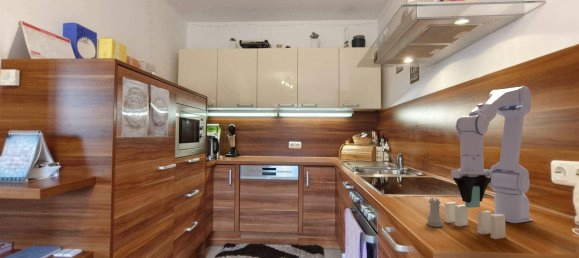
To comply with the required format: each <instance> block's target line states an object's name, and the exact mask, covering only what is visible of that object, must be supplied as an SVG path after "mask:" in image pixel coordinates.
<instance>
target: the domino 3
mask: <svg viewBox="0 0 579 258" xmlns="http://www.w3.org/2000/svg"><path fill="white" fill-rule="evenodd" d="M464 205H465V207H468V209H473V208H481V202H480V187H478V186H473V190H472V200H471V203H468V202H465V204H464Z"/></svg>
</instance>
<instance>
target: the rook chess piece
mask: <svg viewBox="0 0 579 258" xmlns="http://www.w3.org/2000/svg"><path fill="white" fill-rule="evenodd" d="M428 203H429V214H428V217H427V218H426V220H427V221H426V224H427V225H428V226H430V227H434V228H442V227H443V226H444V223H443V219H442V217H441V214H440V208H441V207H440V204H441V201H440V199H439V198H437V197H436V198H434V197H430V198H429V200H428Z"/></svg>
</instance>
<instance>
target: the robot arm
mask: <svg viewBox="0 0 579 258" xmlns="http://www.w3.org/2000/svg"><path fill="white" fill-rule="evenodd" d="M488 97H489V99H488V100H487V101H486V102H485V103H483V102H481V103H478V104H477V105H476V107H475V108H474V109H473V110H471V111H470V112H469V113H468V114H467V115H462V116H460V117H459V118H458V119H457V120H456V123H455V130H456V133H457V139H458V140H459V141H460V142H459V144H460V146H459V148H460V150H459V151H460V154H459V155H460V156H459V157H460V168H458V169H456V170H455V169H454V170H451V171H450V178H453V181H454V182H455V184H456V186H457V187H458V190H459V192H460V193H459V194H460V196H461V201H462V202H468V203H471V200H472V190H473V186H478V187H480V203H481V202H483V199H484V196H485V192H486V190H487V187H488V186H489V187H490V188H491V190H492V191H493V192H494V213H492V215H496V214H503V215H505V222H508V223H512V224H519V223H524V222H525V223H526V222H531V221H533V218H530V200H529V198H528V195H526V194H525V193H527V192H528V191H529V190H530V186H531V185H530V184H531V182H530V172H529V170H528V169H527V168H526V167H524V166H522V164H520V155H521V145H522V139H523V138H522V137H523V128H524V127H523V126H524V118H525V115H527V114H529V113H530V112H531V106H532V93H531V90H530V88H529V87H528V86H526V85H522V86H519V87H517V86H516V87H510V88H503V89H492V90H491V92H489V95H488ZM497 115H498V116H499V115H500V116H501V117H504V124H503V132H502V142H501V149H500V155H499V156H500V158H499V161H498V162H496V163H495V164H492V166H490V169H485V165H484V163H485V162H484V161H485V159H484V158H485V156H484V148H485V147H484V145H485V144H484V135H486V134H487V131H488V129H489V126H490V123H491V122H492V120H494V119H495V118H496V117H497Z"/></svg>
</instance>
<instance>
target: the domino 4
mask: <svg viewBox="0 0 579 258" xmlns="http://www.w3.org/2000/svg"><path fill="white" fill-rule="evenodd" d="M492 214H493V213H492V211H490V210H481V211H477V234H479V235H488V234H491V225H490V215H492Z"/></svg>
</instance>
